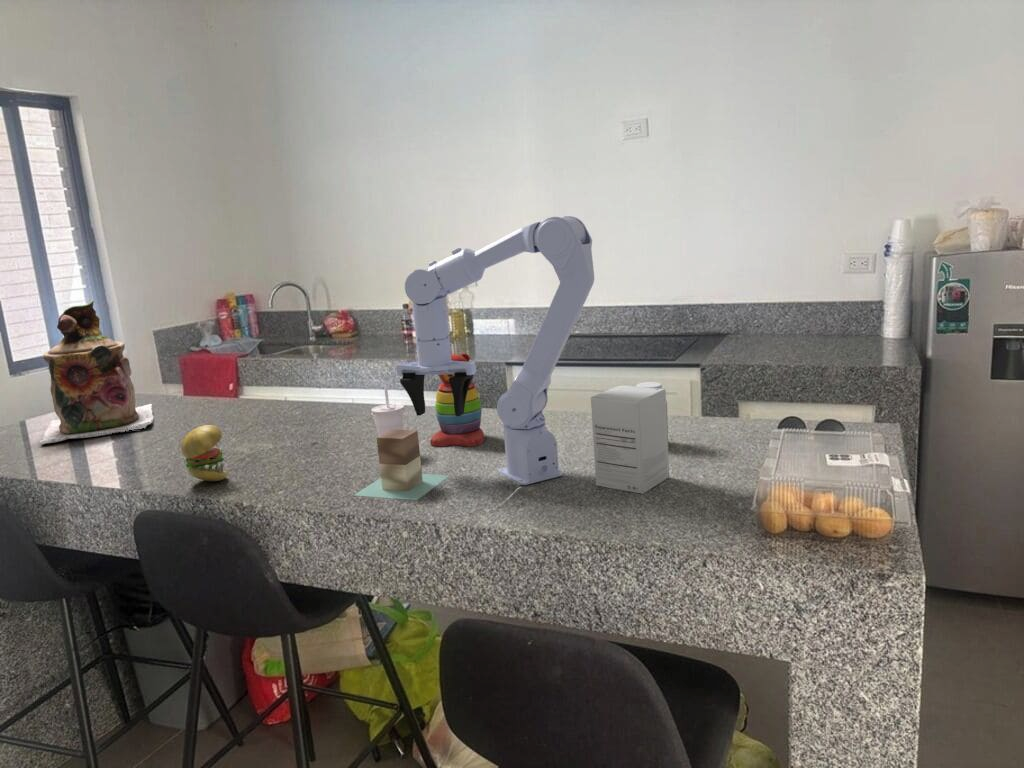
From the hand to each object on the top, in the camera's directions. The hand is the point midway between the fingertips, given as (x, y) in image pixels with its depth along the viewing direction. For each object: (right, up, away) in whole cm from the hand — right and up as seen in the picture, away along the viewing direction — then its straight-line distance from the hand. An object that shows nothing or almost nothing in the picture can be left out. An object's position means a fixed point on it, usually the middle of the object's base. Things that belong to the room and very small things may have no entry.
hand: (440, 414), depth 133 cm
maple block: (-6, -12, -5) cm, 14 cm away
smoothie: (-11, -9, +14) cm, 19 cm away
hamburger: (-43, -13, +6) cm, 45 cm away
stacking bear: (+2, -6, +21) cm, 22 cm away
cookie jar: (-91, -6, +57) cm, 108 cm away
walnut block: (-6, -7, -6) cm, 11 cm away
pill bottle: (+39, -6, +8) cm, 40 cm away
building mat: (-6, -12, -5) cm, 14 cm away
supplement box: (+32, -11, -11) cm, 36 cm away
